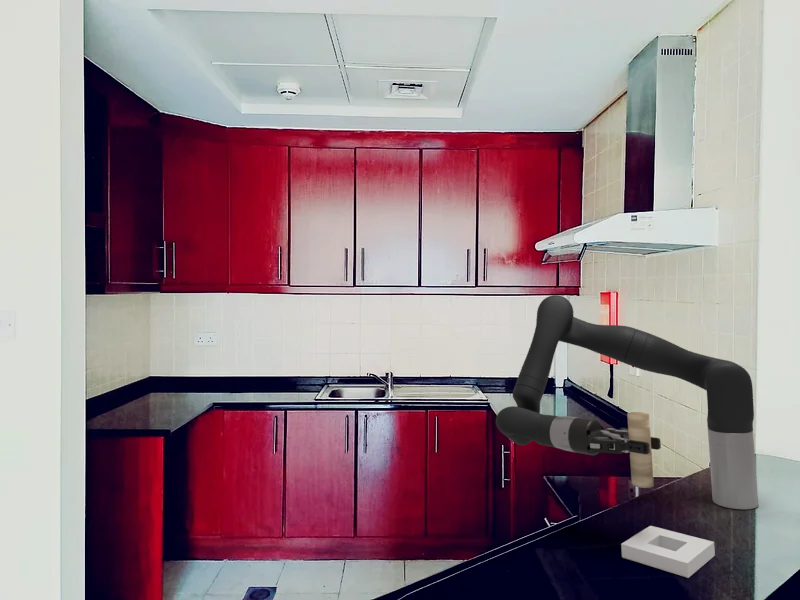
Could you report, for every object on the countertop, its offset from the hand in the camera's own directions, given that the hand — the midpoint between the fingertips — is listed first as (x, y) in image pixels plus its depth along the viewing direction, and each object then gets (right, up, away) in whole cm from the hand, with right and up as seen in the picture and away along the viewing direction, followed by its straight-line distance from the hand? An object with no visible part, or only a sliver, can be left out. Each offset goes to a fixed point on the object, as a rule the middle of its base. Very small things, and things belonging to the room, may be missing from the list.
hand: (653, 446), depth 107 cm
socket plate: (+1, -20, -4) cm, 20 cm away
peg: (-1, -8, +2) cm, 8 cm away
